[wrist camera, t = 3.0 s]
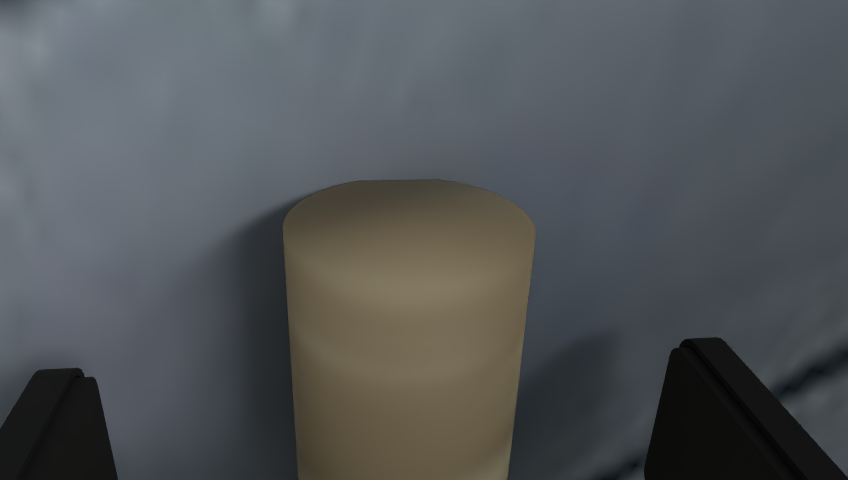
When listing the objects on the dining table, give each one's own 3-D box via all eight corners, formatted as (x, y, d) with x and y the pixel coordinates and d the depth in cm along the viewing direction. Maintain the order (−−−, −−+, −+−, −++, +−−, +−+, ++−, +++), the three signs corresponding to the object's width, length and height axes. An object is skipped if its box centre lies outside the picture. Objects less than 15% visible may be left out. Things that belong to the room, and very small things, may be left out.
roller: (288, 179, 11) (274, 289, 8) (503, 175, 11) (569, 279, 8) (307, 500, 14) (301, 671, 11) (475, 488, 15) (516, 649, 11)
